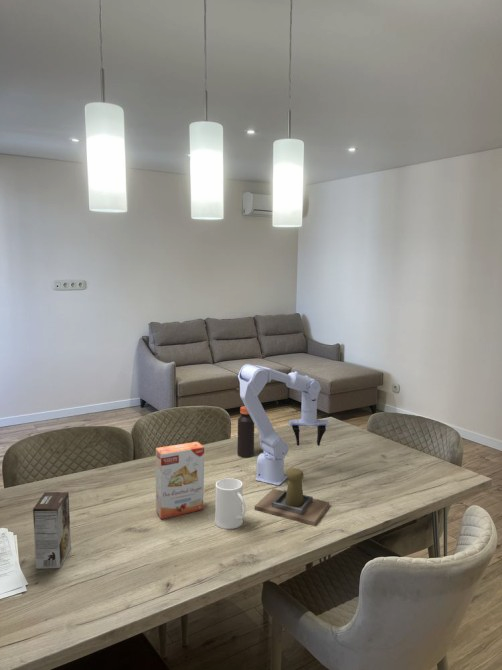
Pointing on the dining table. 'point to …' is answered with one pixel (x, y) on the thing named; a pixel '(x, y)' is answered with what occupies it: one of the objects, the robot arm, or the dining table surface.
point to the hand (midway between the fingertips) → (308, 444)
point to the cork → (294, 488)
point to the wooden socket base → (304, 514)
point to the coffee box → (51, 529)
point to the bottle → (245, 434)
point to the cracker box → (179, 479)
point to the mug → (229, 503)
